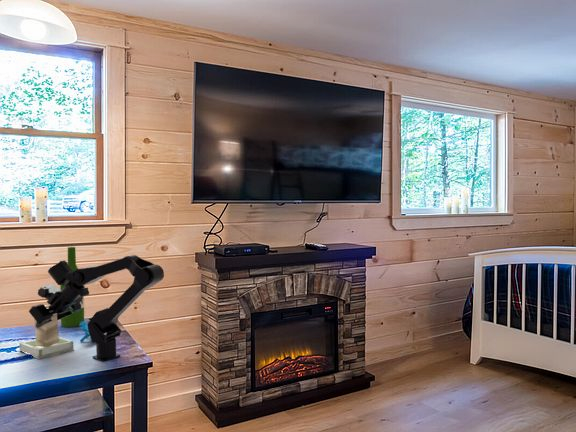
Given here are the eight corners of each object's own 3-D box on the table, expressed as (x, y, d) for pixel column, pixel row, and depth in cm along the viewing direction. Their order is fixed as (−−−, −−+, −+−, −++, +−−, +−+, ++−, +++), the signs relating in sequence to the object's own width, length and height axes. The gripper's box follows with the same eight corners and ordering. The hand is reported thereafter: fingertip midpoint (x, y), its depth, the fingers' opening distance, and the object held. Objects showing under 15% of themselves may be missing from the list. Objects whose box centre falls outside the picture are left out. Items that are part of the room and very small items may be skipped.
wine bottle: (73, 328, 192) (72, 248, 191) (56, 326, 195) (54, 248, 194) (89, 322, 201) (87, 246, 200) (72, 320, 204) (70, 245, 202)
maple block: (59, 342, 166) (56, 305, 164) (47, 347, 161) (43, 309, 160) (49, 340, 167) (45, 304, 166) (36, 345, 163) (33, 308, 162)
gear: (98, 341, 170) (78, 321, 170) (85, 353, 169) (66, 333, 169) (107, 336, 181) (88, 318, 181) (95, 347, 180) (76, 329, 180)
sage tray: (73, 349, 165) (73, 341, 165) (38, 359, 155) (38, 350, 155) (53, 343, 173) (53, 334, 173) (19, 351, 163) (19, 343, 163)
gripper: (74, 273, 171) (49, 301, 174) (33, 282, 153) (6, 313, 156) (92, 296, 169) (67, 324, 172) (53, 307, 151) (26, 339, 155)
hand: (43, 324), depth 164 cm, fingers closed on maple block, 5 cm apart
